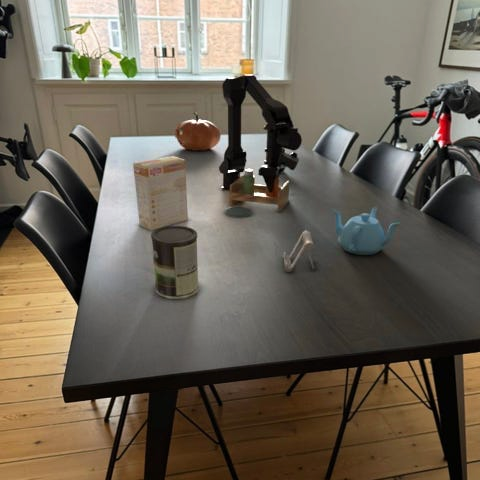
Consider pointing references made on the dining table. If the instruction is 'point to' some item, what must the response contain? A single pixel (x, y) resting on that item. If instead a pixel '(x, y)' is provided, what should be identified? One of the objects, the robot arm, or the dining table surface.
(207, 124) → the pumpkin
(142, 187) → the coffeecake box
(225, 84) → the robot arm
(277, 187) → the amber bottle
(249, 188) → the green bottle
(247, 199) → the spice rack
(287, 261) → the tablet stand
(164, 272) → the coffee can
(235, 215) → the coaster
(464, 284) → the dining table surface
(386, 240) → the teapot
